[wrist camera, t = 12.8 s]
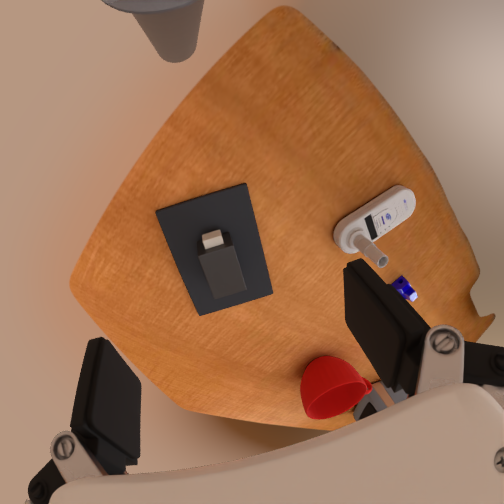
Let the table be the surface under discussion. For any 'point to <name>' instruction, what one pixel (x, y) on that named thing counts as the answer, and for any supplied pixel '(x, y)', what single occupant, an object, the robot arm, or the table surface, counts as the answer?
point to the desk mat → (226, 220)
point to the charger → (220, 264)
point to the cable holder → (404, 288)
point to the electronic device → (374, 223)
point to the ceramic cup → (331, 387)
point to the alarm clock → (377, 400)
